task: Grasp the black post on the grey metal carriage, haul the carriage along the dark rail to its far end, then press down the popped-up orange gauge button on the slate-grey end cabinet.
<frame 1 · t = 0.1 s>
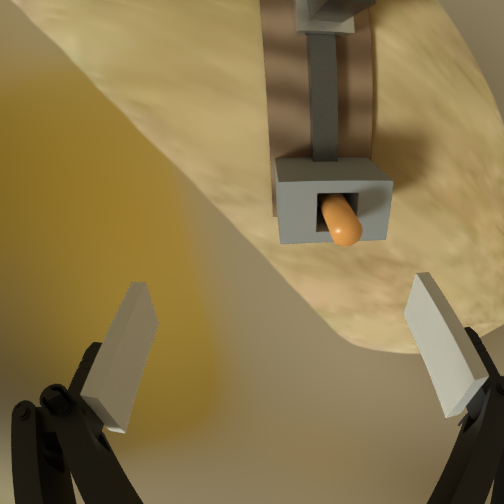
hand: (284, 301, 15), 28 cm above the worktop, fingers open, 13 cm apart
end cabinet: (322, 183, 39), resting on base board
gauge button: (337, 213, 31), point 10 cm above the worktop, slide at 0.0 cm
base board: (320, 98, 34), on the worktop
carriage: (330, 0, 21), point 8 cm above the worktop, slide at 0.0 cm
rail: (320, 73, 32), resting on base board
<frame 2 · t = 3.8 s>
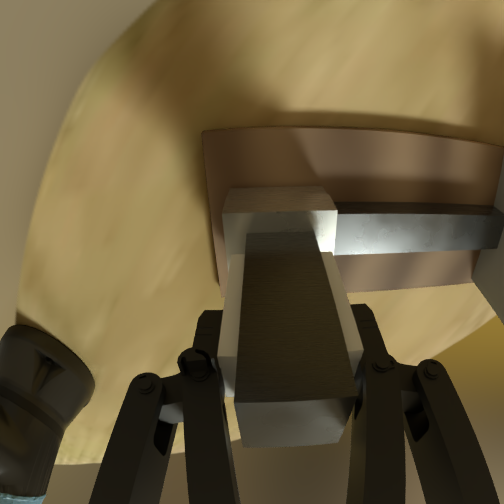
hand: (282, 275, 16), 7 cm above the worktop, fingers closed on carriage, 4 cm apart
base board: (416, 216, 22), on the worktop
carriage: (283, 292, 15), point 8 cm above the worktop, slide at 0.0 cm, touching gripper
rail: (383, 220, 21), resting on base board
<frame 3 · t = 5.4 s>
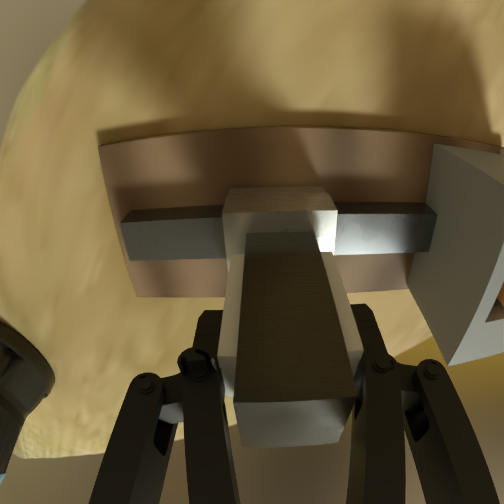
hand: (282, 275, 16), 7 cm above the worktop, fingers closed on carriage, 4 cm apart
end cabinet: (456, 221, 21), resting on base board
base board: (326, 216, 22), on the worktop
carriage: (283, 292, 15), point 8 cm above the worktop, slide at 7.4 cm, touching gripper
rail: (281, 222, 22), resting on base board
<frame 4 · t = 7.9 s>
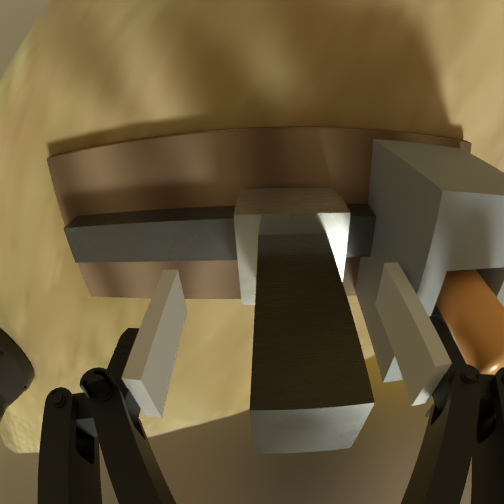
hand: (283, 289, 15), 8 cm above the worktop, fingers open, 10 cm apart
end cabinet: (409, 223, 21), resting on base board
gauge button: (468, 306, 13), point 10 cm above the worktop, slide at 0.1 cm, touching gripper
base board: (258, 219, 22), on the worktop
carriage: (296, 295, 15), point 8 cm above the worktop, slide at 13.0 cm
rail: (211, 226, 22), resting on base board
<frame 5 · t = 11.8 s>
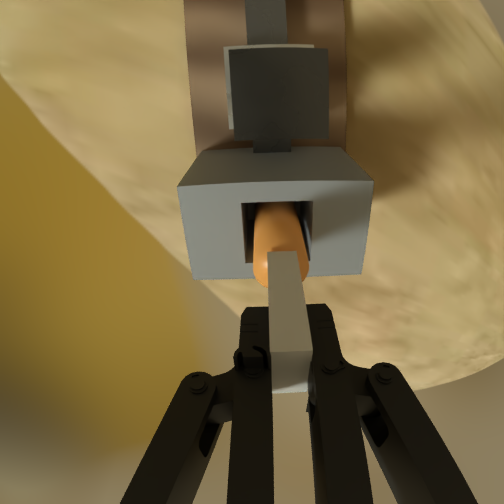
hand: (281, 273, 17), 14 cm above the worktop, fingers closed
end cabinet: (272, 184, 28), resting on base board
gauge button: (277, 232, 20), point 10 cm above the worktop, slide at 0.5 cm, touching gripper
base board: (267, 62, 22), on the worktop
carriage: (272, 86, 16), point 8 cm above the worktop, slide at 13.0 cm
rail: (265, 25, 20), resting on base board
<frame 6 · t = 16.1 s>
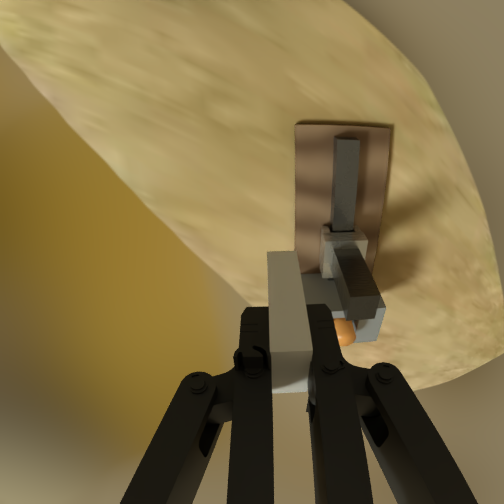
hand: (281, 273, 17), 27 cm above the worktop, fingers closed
end cabinet: (332, 289, 51), resting on base board
gauge button: (340, 319, 45), point 8 cm above the worktop, slide at 2.1 cm
base board: (337, 228, 46), on the worktop
carriage: (349, 271, 40), point 8 cm above the worktop, slide at 13.0 cm
rail: (340, 210, 43), resting on base board
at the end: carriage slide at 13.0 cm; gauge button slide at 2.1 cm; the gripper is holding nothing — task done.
